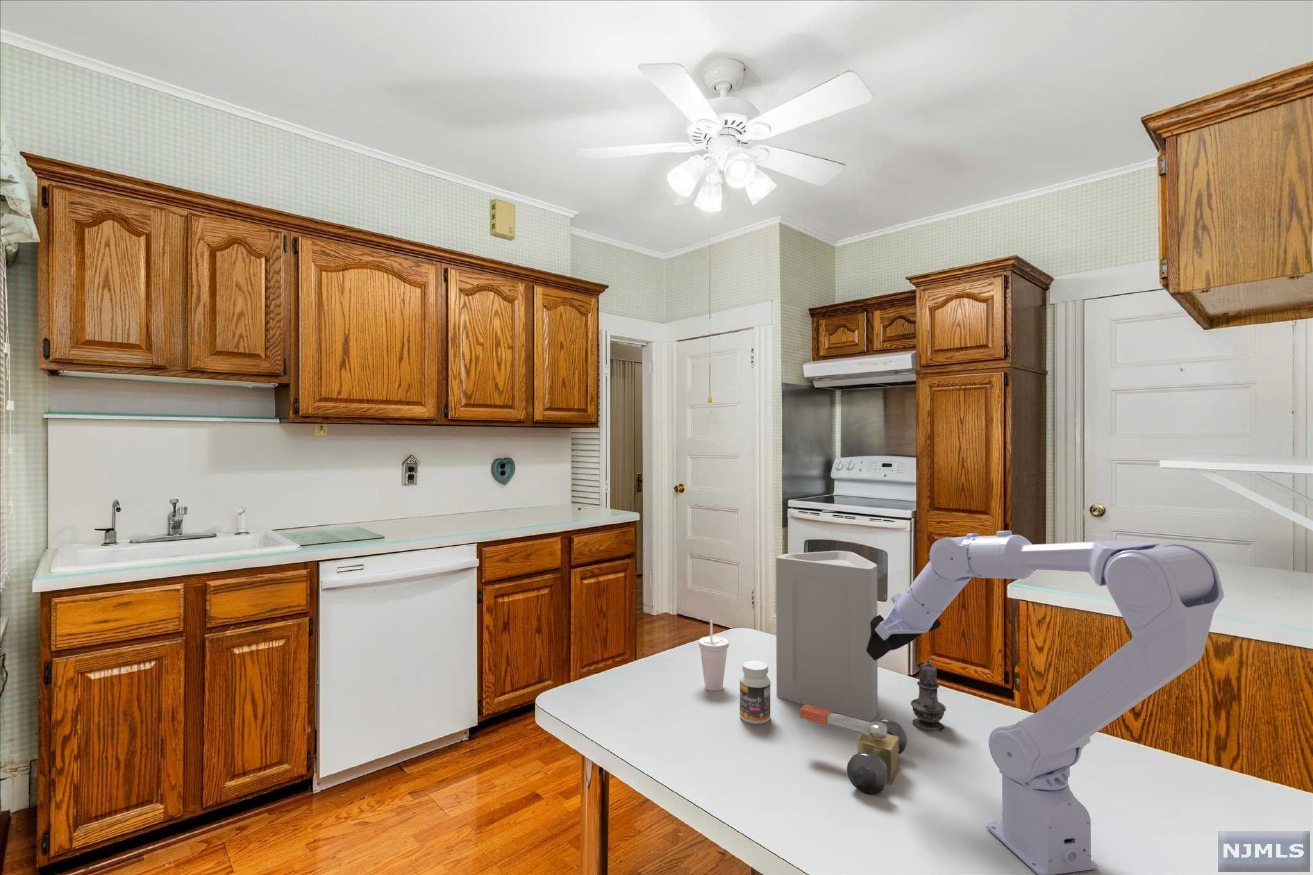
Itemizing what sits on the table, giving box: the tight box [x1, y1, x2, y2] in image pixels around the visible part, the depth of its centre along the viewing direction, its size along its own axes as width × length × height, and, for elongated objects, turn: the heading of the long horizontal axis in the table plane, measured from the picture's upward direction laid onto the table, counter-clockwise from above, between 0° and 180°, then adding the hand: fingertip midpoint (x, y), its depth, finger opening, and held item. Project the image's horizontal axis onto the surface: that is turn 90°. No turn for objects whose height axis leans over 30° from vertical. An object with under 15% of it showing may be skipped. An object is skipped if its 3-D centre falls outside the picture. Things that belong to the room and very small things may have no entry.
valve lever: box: [799, 704, 887, 739], centre depth 99 cm, size 14×3×1 cm, turn 56°
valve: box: [846, 718, 908, 796], centre depth 96 cm, size 14×6×6 cm, turn 146°
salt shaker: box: [910, 658, 947, 733], centre depth 111 cm, size 6×6×12 cm
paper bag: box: [775, 550, 879, 722], centre depth 124 cm, size 19×15×28 cm
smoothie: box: [698, 619, 730, 692], centre depth 129 cm, size 6×6×14 cm
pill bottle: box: [739, 660, 771, 725], centre depth 114 cm, size 6×6×10 cm
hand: (886, 647), depth 102 cm, fingers open, 7 cm apart
